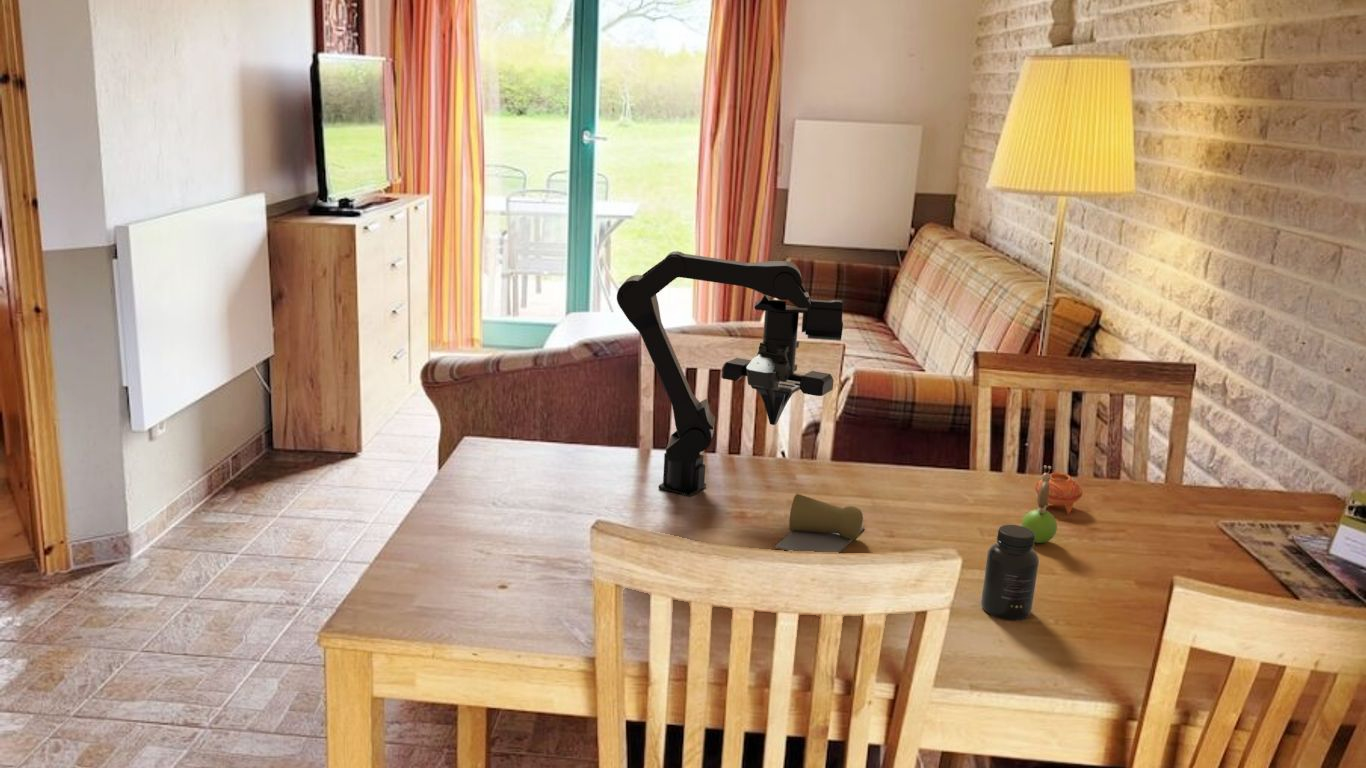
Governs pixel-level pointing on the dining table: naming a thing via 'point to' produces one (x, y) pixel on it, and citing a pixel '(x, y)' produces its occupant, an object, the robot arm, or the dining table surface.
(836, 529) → the cork
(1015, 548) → the supplement bottle
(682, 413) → the robot arm
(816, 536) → the mat
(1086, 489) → the dining table surface
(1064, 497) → the pot
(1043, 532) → the snail figurine
